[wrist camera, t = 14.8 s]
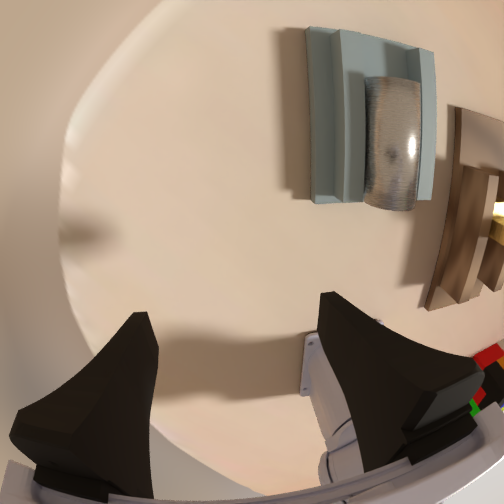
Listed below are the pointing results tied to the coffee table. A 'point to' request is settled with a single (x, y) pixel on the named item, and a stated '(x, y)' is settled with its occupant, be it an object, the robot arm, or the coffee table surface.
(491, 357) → the puzzle toy
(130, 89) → the coffee table surface
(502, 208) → the tan blocky piece
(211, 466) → the coffee table surface
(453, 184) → the socket block
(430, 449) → the robot arm
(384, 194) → the shiny metal cylinder
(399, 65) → the rack
